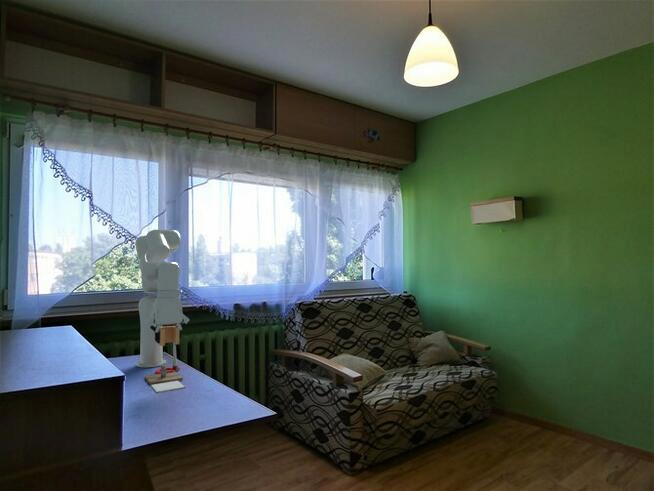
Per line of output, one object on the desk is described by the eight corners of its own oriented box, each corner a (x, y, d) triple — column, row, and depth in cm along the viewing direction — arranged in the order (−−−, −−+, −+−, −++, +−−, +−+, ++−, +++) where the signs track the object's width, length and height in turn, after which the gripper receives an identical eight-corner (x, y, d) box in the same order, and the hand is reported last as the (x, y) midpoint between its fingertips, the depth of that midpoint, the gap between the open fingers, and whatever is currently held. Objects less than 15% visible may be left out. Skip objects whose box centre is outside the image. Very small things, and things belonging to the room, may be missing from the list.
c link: (156, 343, 160) (157, 327, 160) (174, 341, 163) (174, 325, 164) (161, 346, 154) (161, 329, 154) (179, 343, 157) (179, 328, 158)
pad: (151, 386, 159) (151, 385, 159) (178, 381, 165) (178, 380, 165) (156, 392, 151) (156, 391, 151) (184, 387, 157) (184, 386, 157)
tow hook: (151, 375, 177) (173, 374, 176) (150, 344, 177) (171, 343, 177) (160, 370, 185) (181, 369, 185) (159, 341, 186) (179, 339, 185)
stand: (144, 378, 170) (144, 364, 170) (175, 373, 177) (175, 360, 177) (150, 385, 160) (150, 371, 160) (182, 380, 167) (182, 366, 167)
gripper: (188, 292, 167) (188, 337, 166) (142, 295, 158) (141, 342, 157) (193, 294, 161) (193, 340, 160) (145, 296, 151) (145, 345, 151)
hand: (168, 341), depth 159 cm, fingers closed on c link, 6 cm apart
